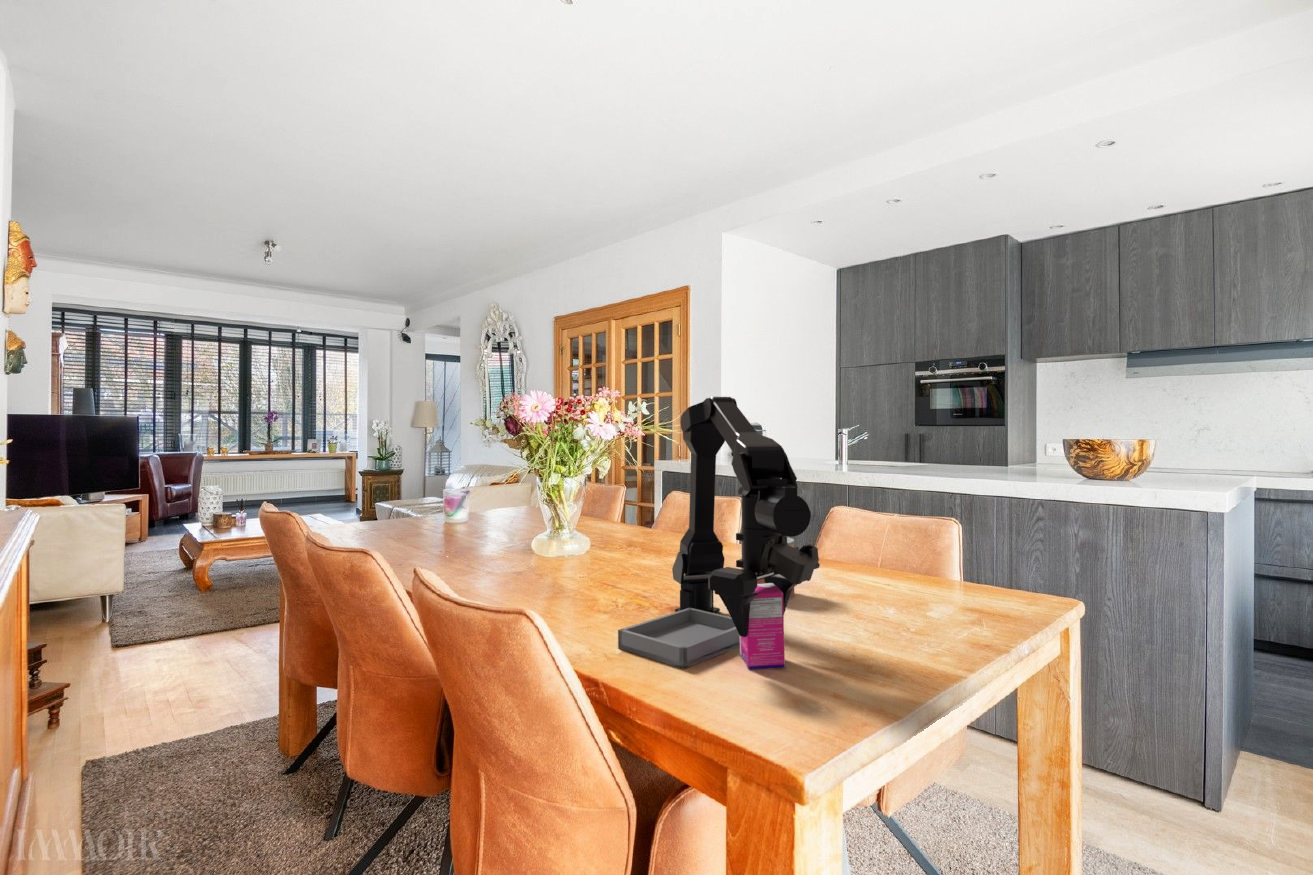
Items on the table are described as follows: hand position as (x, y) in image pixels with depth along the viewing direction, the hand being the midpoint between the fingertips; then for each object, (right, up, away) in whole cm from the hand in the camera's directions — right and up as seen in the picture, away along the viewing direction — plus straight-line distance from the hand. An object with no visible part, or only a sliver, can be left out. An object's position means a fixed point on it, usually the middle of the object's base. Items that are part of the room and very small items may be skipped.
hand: (761, 629), depth 100 cm
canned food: (+8, -5, +41) cm, 42 cm away
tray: (-11, -5, +9) cm, 15 cm away
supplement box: (0, -5, 0) cm, 5 cm away
